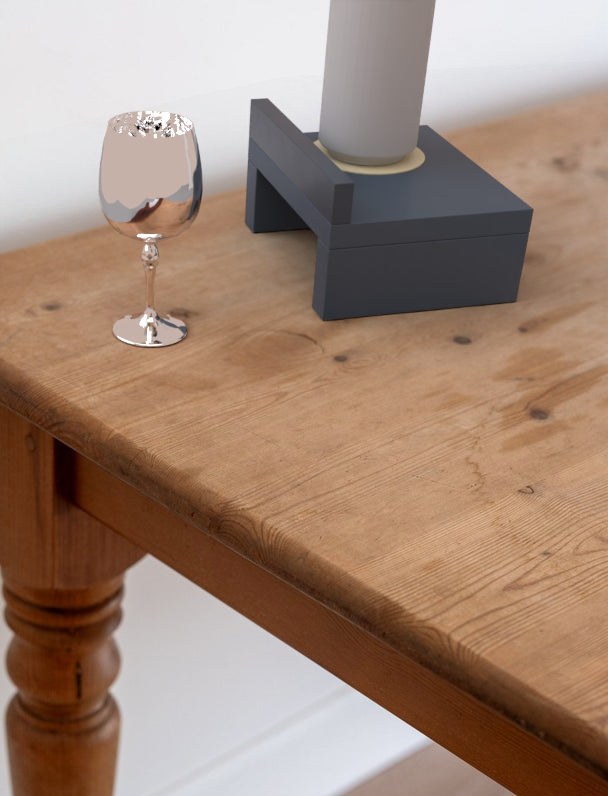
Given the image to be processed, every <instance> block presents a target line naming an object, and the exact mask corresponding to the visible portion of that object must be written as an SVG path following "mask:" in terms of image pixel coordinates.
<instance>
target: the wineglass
mask: <svg viewBox="0 0 608 796" xmlns="http://www.w3.org/2000/svg"><path fill="white" fill-rule="evenodd" d="M199 146H200V145H199V140H198V136H197V133H196V130H195V125H194V122H193V121H192V120H191V119H190V118H189V117H186V116H183V115H181V114H177V113H173V112H167V111H161V110H136V111H129V112H123V113H120V114H117V115H115V116H112V117H111V118H110V119H109V120H108V121H107V124H106V128H105V133H104V137H103V142H102V146H101V152H100V157H99V158H100V159H99V165H98V175H97V176H98V179H97V182H98V183H97V186H98V189H97V190H98V198H99V203H100V208H101V211H102V214H103V217H105V219H106V221H107V222H108V224H109V225H110V226H111V227H112V228H113V230H115V231H117V232H118V233H119V234H121V235H122V236H124V237H127V238H129V239H132V240H135V241H139V242H144V243H145V244H144V245H143V247H142V250H141V257H140V258H141V262H142V267H143V270H144V275H145V284H146V285H145V286H146V289H145V291H146V292H145V307H144V310H143V312H141V311H140V312H135V313H131V314H127V315H125V316H122V317H120V318H119V319H117V320H116V321H114V323H113V324H112V328H111V331H112V334H113V335H114V337H115V338H117V339H118V340H119V341H121V342H122V343H125V344H128V345H131V346H136V347H143V348H158V347H166V346H170V345H173V344H176V343H178V342H180V341H182V340H183V339H185V337H186V336H187V334H188V326H187V325H186V323H185V322H184V321H183V320H182V319H180V318H178V317H177V316H174V315H171V314H168V313H163V312H157V310H156V306H155V278H156V273H157V267H158V265H159V260H160V253H159V249H158V246H157V245H156V243H158V242H164V241H169V240H171V239H173V238H175V237H178V236H180V235H182V234H183V233H185V232H186V231H187V230H188V229H190V227H191V226H192V225H193V224H194V222H195V221H196V219H197V217H198V215H199V213H200V209H201V205H202V199H203V190H204V175H203V174H204V173H203V166H202V165H203V164H202V159H201V153H200V147H199Z"/></svg>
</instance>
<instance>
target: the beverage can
mask: <svg viewBox="0 0 608 796" xmlns="http://www.w3.org/2000/svg"><path fill="white" fill-rule="evenodd" d="M436 2H437V0H329V7H328V8H329V10H328V21H327V22H328V23H327V32H326V33H327V34H326V44H325V57H324V68H323V77H322V78H323V81H322V90H321V91H322V93H321V103H320V113H319V114H320V116H319V127H318V132H319V142H320V143H321V144H322V146H323V147H325V148H326V149H327V150H328V153H329V154H330V156H332V157H333V158H335V159H337V160H339V161H342V162H346V163H350V164H356V165H365V166H379V165H388V164H393V163H396V162H398V161H400V160H402V159H403V158H404V156H406V155H408V154H409V153H411V152H412V151H414V149H415V148H416V146H417V140H418V132H419V125H420V123H421V117H422V108H423V100H424V93H425V86H426V77H427V70H428V62H429V56H430V55H429V54H430V48H431V40H432V34H433V33H432V32H433V25H434V17H435V10H436Z"/></svg>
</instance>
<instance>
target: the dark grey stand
mask: <svg viewBox="0 0 608 796" xmlns="http://www.w3.org/2000/svg"><path fill="white" fill-rule="evenodd" d="M249 105H250V107H249V124H248V125H249V129H248V150H247V168H246V169H247V171H246V188H245V189H246V190H245V208H244V209H245V211H244V223H245V225H246V226H247V227H248V228H249V230H250V231H251V232H252V233H253V234H255V233H267V232H277V231H278V232H280V231H291V230H305V229H310V230H311V231H312V232H313V233H314V234H315V236H317V243H316V255H315V267H314V278H313V291H312V300H311V301H312V302H311V308H312V309H313V310H314V312H315V313H316V314H317V315H318V317H319V318H320V319H321V320H322V321H332V320H342V319H352V318H362V317H363V318H364V317H372V316H383V315H393V314H402V313H412V312H414V313H415V312H423V311H433V310H444V309H455V308H463V307H474V306H484V305H493V304H494V305H495V304H505V303H514V302H517V299H518V294H519V289H520V283H521V280H522V279H521V278H522V273H523V268H524V263H525V258H526V253H527V247H528V241H529V236H530V231H531V226H532V220H533V216H534V212H535V211H534V208H533V207H532V206H530V205H529V204H528V203H527V202H526V201H524V200H523V199H522V198H521V197H519V196H518V195H517V194H516V193H514V192H513V191H512V190H510V189H509V188H508V187H507V186H505V185H504V184H503V183H501V182H500V181H499V180H498V179H497V178H495V177H494V176H493V175H491V173H489V172H487V170H485V169H484V168H482V167H481V166H480V165H479V164H478V163H476V162H475V161H473V160H472V159H471V158H470V157H468V156H467V155H466V154H465V153H464V152H462V151H461V150H460V149H459V148H457V147H456V146H454V145H453V144H452V143H451V142H450V141H448V140H447V139H445V138H444V137H443V136H442V135H440V133H439V132H436V131H435V130H434V129H433V128H431V127H430V126H429V125H428V124H421V125H420V124H419V132H418V140H417V146H416V148H415V149H414V151H412V152H411V153H409V154H408V155H406V156H404V158H403V159H402V160H400V161H398V162H396V163H393V164H388V165H379V166H365V165H356V164H350V163H346V162H342V161H339V160H337V159H335V158H333V157H332V156H330V154H329V153H328V150H327V149H326V148H325V147H323V146H322V144H321V143H320V142H319V131H306V132H303V131H302V130H301V129H300V128H299V127H298V126H297V125H296V124H295V123H294V122H293V121H292V120H291V119H290V118H288V116H286V114H285V113H284V112H283V111H281V110H280V109H279V108H278V106H276V105H275V104H274V103H273V102H272V101H271V100H270V98H267V97H266V98H265V97H263V98H262V97H261V98H251V99H250V104H249Z"/></svg>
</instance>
